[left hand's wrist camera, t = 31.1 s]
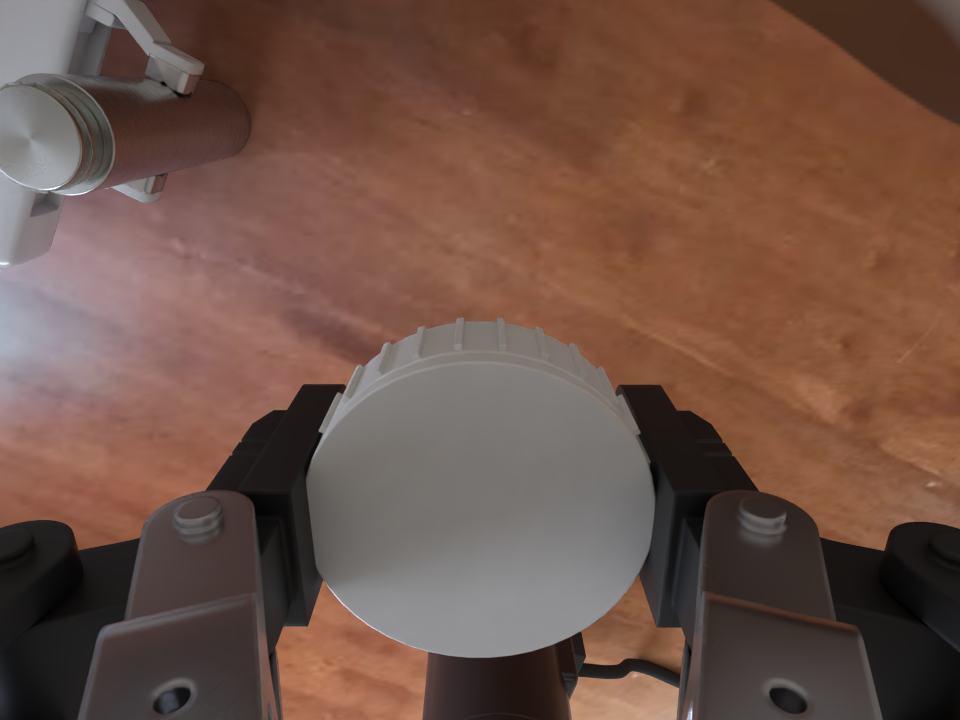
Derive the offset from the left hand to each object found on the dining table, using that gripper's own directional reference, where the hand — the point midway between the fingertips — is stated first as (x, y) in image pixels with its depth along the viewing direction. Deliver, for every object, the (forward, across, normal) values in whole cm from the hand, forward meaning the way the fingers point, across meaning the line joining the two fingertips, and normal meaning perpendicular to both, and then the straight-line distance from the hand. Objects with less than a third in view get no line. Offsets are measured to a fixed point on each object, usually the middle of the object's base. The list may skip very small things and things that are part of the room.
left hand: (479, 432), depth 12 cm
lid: (-3, 0, 0) cm, 3 cm away
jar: (+29, +15, -5) cm, 33 cm away
